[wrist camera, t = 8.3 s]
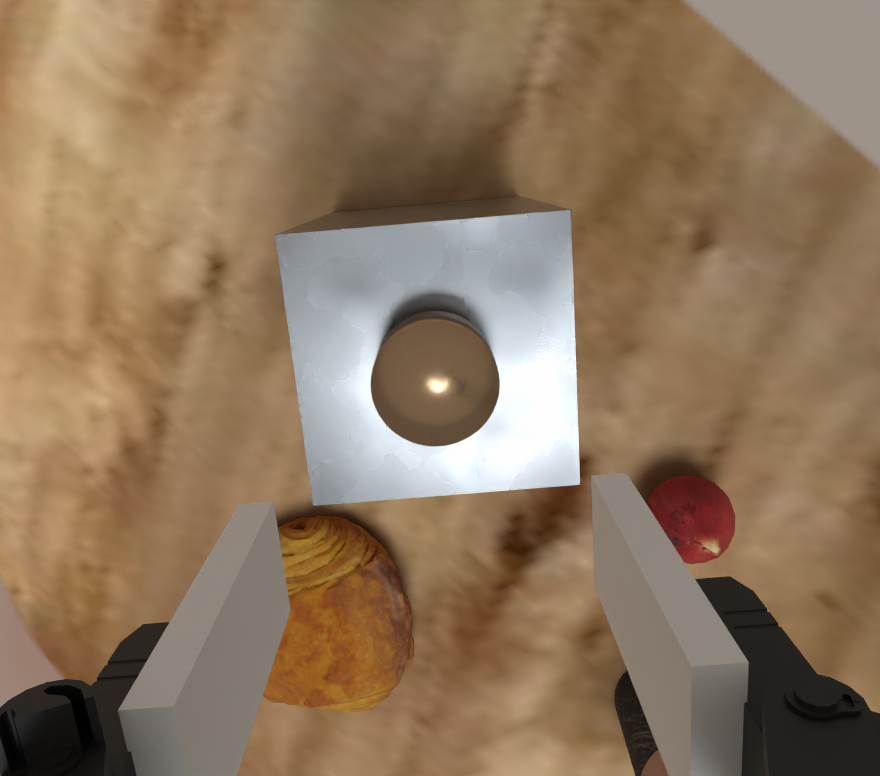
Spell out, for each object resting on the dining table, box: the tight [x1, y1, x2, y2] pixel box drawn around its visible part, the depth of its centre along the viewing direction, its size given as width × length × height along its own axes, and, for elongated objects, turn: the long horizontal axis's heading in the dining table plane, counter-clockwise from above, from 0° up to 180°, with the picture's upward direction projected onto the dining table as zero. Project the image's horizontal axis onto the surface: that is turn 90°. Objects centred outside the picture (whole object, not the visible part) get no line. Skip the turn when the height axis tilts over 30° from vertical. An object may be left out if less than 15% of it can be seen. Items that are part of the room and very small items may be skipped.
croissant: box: [263, 515, 414, 712], centre depth 54 cm, size 14×16×8 cm
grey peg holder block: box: [275, 196, 580, 506], centre depth 41 cm, size 12×12×19 cm
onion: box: [646, 475, 735, 564], centre depth 51 cm, size 6×6×8 cm
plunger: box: [371, 311, 500, 446], centre depth 39 cm, size 9×9×20 cm
